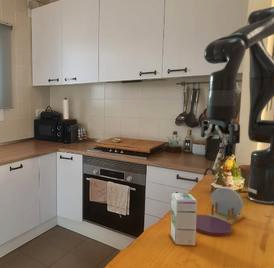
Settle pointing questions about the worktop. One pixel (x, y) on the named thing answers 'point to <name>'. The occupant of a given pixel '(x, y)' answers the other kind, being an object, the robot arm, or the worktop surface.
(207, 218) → the plum plate
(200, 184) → the worktop surface
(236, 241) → the worktop surface
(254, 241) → the worktop surface
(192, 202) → the syrup box
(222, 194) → the plate
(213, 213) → the dish rack
